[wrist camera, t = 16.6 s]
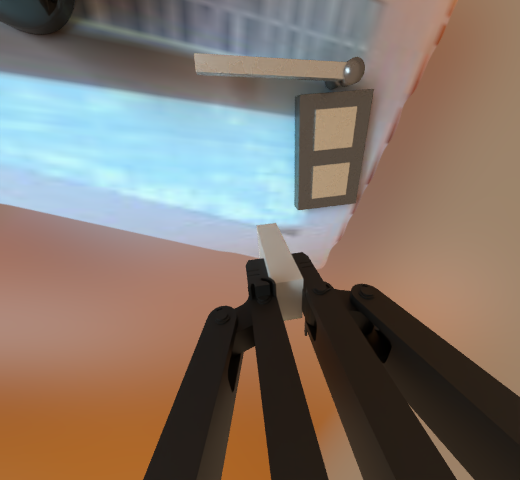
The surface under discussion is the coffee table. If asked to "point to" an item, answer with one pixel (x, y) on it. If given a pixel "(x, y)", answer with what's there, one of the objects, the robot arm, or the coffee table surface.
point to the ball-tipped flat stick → (280, 68)
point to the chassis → (329, 146)
